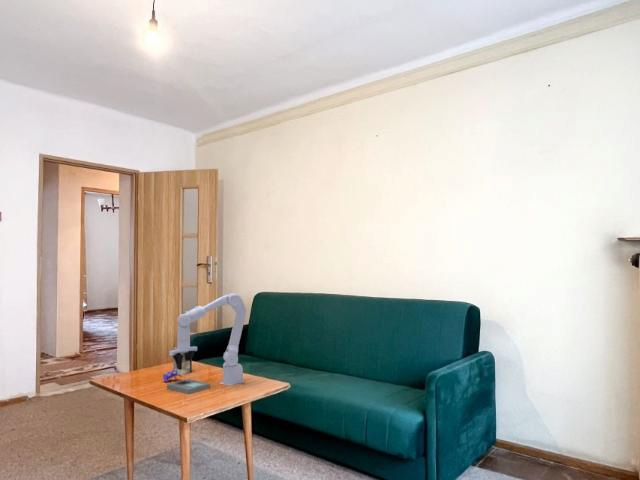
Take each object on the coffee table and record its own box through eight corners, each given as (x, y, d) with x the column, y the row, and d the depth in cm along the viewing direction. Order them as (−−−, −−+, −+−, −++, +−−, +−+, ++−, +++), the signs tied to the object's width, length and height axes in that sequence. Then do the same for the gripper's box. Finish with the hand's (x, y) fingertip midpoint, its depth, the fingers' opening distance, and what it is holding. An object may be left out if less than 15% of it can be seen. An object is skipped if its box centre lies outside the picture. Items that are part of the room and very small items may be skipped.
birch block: (184, 372, 205) (184, 360, 206) (189, 373, 203) (189, 361, 203) (177, 374, 202) (177, 361, 202) (182, 375, 200) (182, 362, 200)
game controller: (163, 378, 206) (158, 370, 214) (167, 392, 208) (162, 384, 216) (183, 369, 211) (178, 362, 219) (187, 384, 213) (182, 375, 221)
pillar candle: (193, 370, 238) (193, 343, 239) (189, 374, 228) (189, 346, 229) (175, 370, 237) (176, 343, 238) (170, 375, 227) (171, 346, 228)
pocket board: (188, 383, 209) (188, 378, 209) (209, 389, 200) (209, 383, 200) (166, 389, 199) (167, 383, 200) (188, 395, 190) (188, 389, 190)
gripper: (190, 336, 212) (190, 364, 211) (165, 340, 200) (165, 370, 199) (200, 337, 208) (199, 366, 207) (174, 342, 196) (174, 372, 195)
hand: (183, 368), depth 203 cm, fingers closed on birch block, 4 cm apart
